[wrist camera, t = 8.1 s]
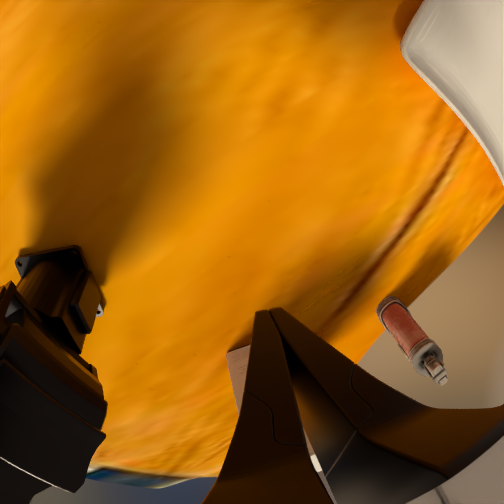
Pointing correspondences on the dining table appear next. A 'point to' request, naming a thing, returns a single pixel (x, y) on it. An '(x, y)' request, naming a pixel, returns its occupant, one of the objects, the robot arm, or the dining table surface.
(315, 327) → the dining table surface
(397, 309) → the lighter
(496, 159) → the square plate
